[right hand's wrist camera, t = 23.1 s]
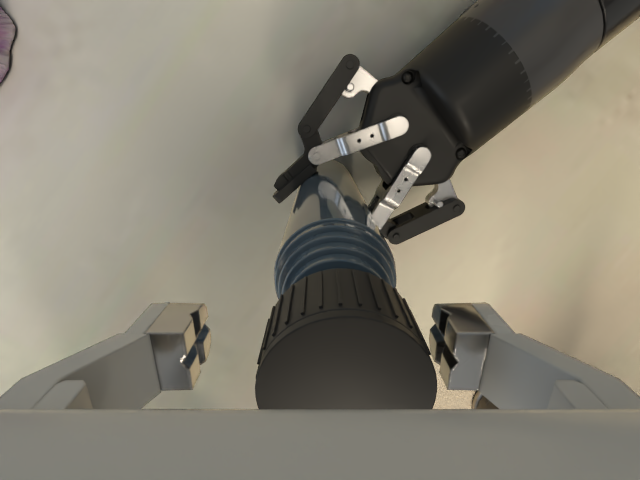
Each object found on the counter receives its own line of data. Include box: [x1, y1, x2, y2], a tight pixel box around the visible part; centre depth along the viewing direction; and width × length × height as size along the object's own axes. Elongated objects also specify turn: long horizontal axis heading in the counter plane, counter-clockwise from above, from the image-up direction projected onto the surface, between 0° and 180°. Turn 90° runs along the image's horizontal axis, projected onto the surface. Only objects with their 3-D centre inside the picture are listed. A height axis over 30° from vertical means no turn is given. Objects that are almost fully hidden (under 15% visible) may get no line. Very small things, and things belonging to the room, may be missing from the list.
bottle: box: [274, 160, 396, 299], centre depth 20 cm, size 5×5×25 cm
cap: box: [255, 268, 437, 409], centre depth 9 cm, size 4×4×2 cm
